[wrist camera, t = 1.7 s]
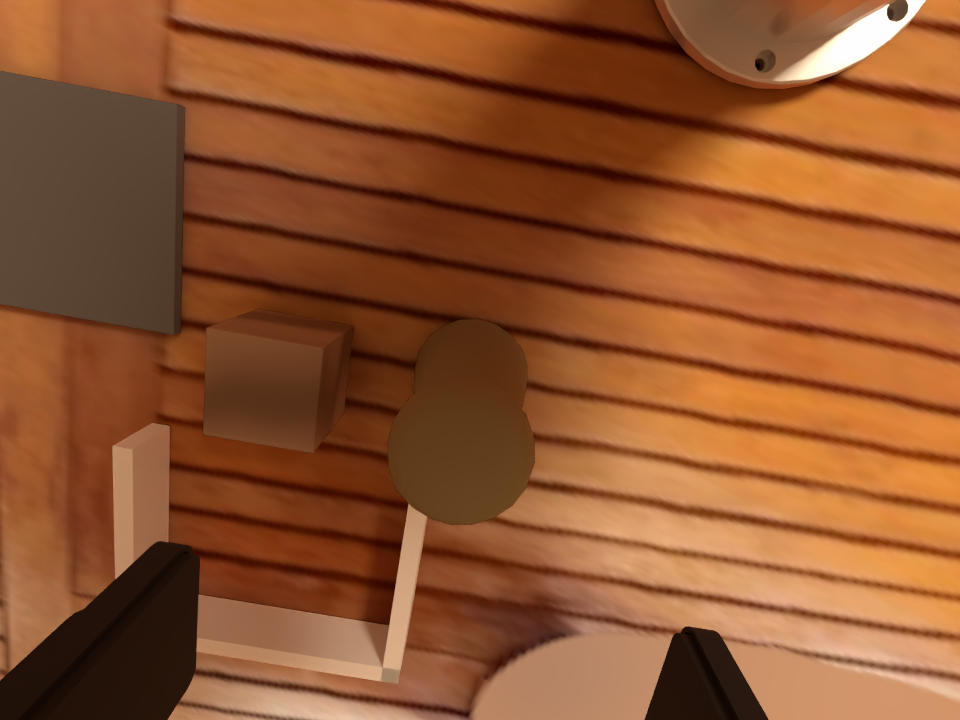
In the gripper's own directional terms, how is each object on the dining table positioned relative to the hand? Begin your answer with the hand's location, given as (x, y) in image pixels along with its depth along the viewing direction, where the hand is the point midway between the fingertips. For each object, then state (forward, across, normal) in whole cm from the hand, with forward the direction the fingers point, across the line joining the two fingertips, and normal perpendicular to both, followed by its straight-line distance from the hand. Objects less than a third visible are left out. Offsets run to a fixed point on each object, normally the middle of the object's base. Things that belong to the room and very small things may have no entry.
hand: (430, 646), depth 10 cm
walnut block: (+18, +9, +1) cm, 20 cm away
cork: (+18, 0, 0) cm, 18 cm away
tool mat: (+18, +21, -5) cm, 28 cm away
